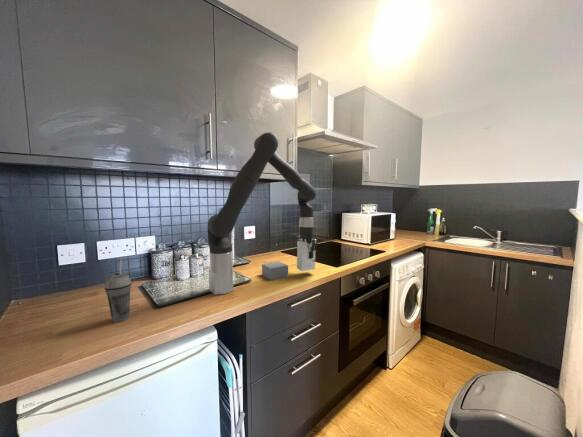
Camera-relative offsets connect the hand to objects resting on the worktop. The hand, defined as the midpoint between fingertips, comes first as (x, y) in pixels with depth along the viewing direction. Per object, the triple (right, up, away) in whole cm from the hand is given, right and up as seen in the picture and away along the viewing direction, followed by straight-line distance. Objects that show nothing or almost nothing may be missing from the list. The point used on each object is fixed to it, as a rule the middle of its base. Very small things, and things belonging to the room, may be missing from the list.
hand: (306, 257), depth 122 cm
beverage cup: (-65, -14, -44) cm, 80 cm away
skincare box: (0, -7, +1) cm, 7 cm away
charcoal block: (-16, -10, -1) cm, 19 cm away
